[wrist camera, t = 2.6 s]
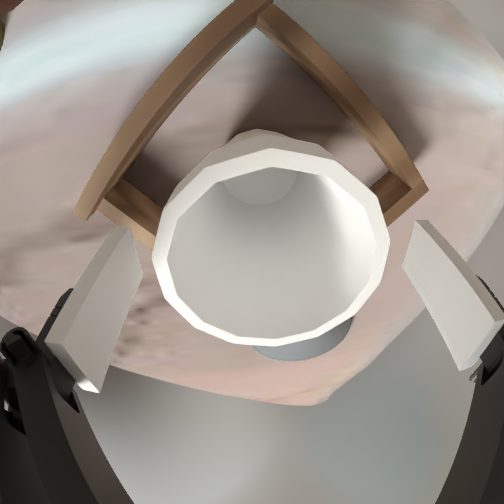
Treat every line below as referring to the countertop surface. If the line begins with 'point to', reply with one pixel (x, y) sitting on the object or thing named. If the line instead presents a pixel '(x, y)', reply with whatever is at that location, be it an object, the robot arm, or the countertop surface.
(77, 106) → the countertop surface
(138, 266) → the robot arm
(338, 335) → the rubber mat
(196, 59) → the frame
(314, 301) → the foam cup
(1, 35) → the cork
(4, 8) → the ice cream bowl
